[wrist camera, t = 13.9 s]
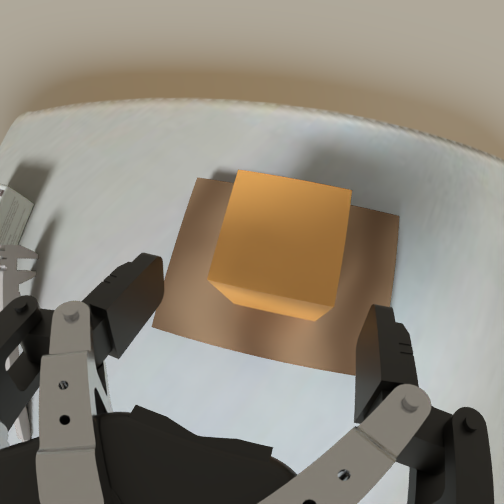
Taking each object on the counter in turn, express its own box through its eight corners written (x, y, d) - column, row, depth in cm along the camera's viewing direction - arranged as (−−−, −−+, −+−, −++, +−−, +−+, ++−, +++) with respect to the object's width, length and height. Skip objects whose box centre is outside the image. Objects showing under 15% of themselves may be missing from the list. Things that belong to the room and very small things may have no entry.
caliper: (34, 254, 27) (-7, 235, 21) (41, 254, 27) (-1, 234, 21) (27, 446, 21) (-14, 455, 15) (34, 449, 21) (-8, 460, 15)
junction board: (391, 225, 24) (399, 216, 22) (368, 376, 21) (375, 378, 19) (203, 189, 27) (197, 177, 25) (161, 328, 23) (151, 326, 22)
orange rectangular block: (330, 243, 22) (352, 190, 14) (315, 321, 21) (334, 306, 13) (252, 227, 23) (238, 169, 15) (233, 303, 21) (206, 279, 14)
